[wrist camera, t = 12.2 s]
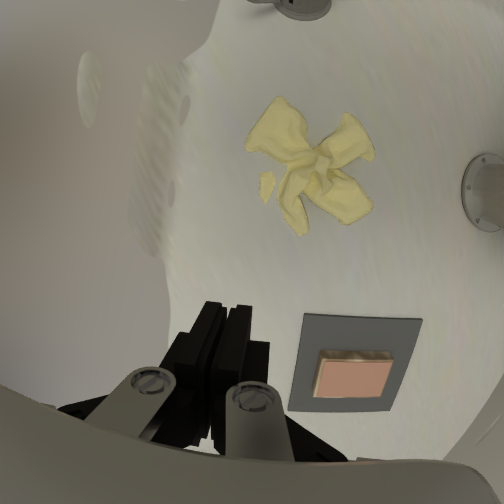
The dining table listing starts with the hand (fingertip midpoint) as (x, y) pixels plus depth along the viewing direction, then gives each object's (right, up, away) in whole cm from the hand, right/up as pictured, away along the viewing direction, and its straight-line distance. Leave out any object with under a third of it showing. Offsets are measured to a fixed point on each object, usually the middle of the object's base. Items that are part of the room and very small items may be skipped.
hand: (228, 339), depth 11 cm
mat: (+18, -16, +36) cm, 44 cm away
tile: (+11, -16, +35) cm, 40 cm away
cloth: (+9, +14, +30) cm, 34 cm away
